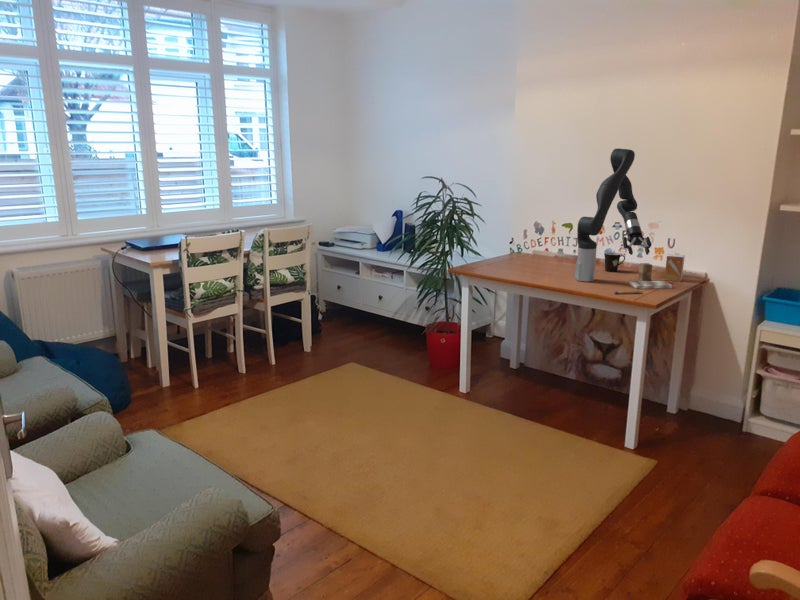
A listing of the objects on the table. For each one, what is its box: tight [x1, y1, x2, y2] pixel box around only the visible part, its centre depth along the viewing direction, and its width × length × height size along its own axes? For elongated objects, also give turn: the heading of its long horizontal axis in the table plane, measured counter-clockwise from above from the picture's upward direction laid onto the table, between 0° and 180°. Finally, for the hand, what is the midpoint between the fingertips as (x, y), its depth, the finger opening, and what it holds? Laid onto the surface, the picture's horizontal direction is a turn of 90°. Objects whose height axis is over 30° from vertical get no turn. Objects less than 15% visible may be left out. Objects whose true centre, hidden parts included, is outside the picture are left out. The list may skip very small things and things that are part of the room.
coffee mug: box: [604, 251, 626, 273], centre depth 349 cm, size 12×9×10 cm
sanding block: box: [638, 262, 653, 281], centre depth 324 cm, size 4×5×9 cm
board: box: [628, 280, 673, 290], centre depth 313 cm, size 18×10×2 cm, turn 91°
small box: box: [663, 254, 686, 282], centre depth 325 cm, size 8×6×13 cm
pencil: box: [613, 290, 643, 295], centre depth 298 cm, size 13×1×1 cm, turn 91°
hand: (639, 253), depth 331 cm, fingers open, 8 cm apart
